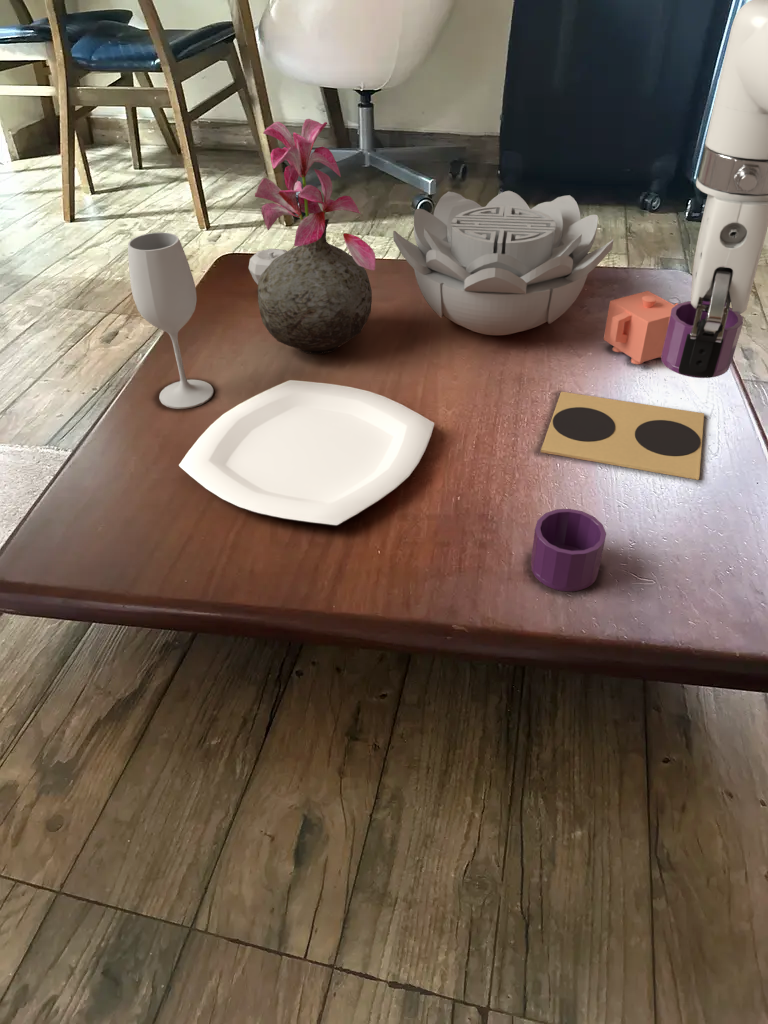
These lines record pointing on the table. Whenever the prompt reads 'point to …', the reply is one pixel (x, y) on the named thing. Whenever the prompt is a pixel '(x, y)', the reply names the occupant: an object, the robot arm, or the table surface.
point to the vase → (312, 255)
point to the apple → (263, 261)
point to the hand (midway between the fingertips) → (696, 355)
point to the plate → (309, 452)
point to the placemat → (626, 434)
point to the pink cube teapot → (638, 325)
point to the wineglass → (166, 304)
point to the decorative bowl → (502, 260)
